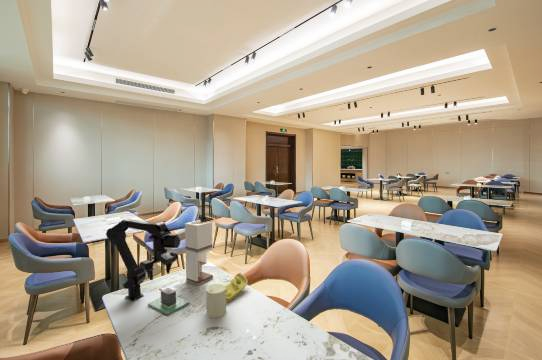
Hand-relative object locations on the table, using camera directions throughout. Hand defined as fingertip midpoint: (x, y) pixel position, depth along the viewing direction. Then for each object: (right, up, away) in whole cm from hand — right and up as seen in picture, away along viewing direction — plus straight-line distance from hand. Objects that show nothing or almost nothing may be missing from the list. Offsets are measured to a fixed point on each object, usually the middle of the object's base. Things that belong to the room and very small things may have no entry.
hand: (160, 276), depth 135 cm
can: (+31, -13, -12) cm, 36 cm away
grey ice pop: (+5, -11, -4) cm, 13 cm away
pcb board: (+6, -12, -5) cm, 14 cm away
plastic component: (+36, -12, +7) cm, 38 cm away
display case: (+14, -11, +24) cm, 30 cm away
